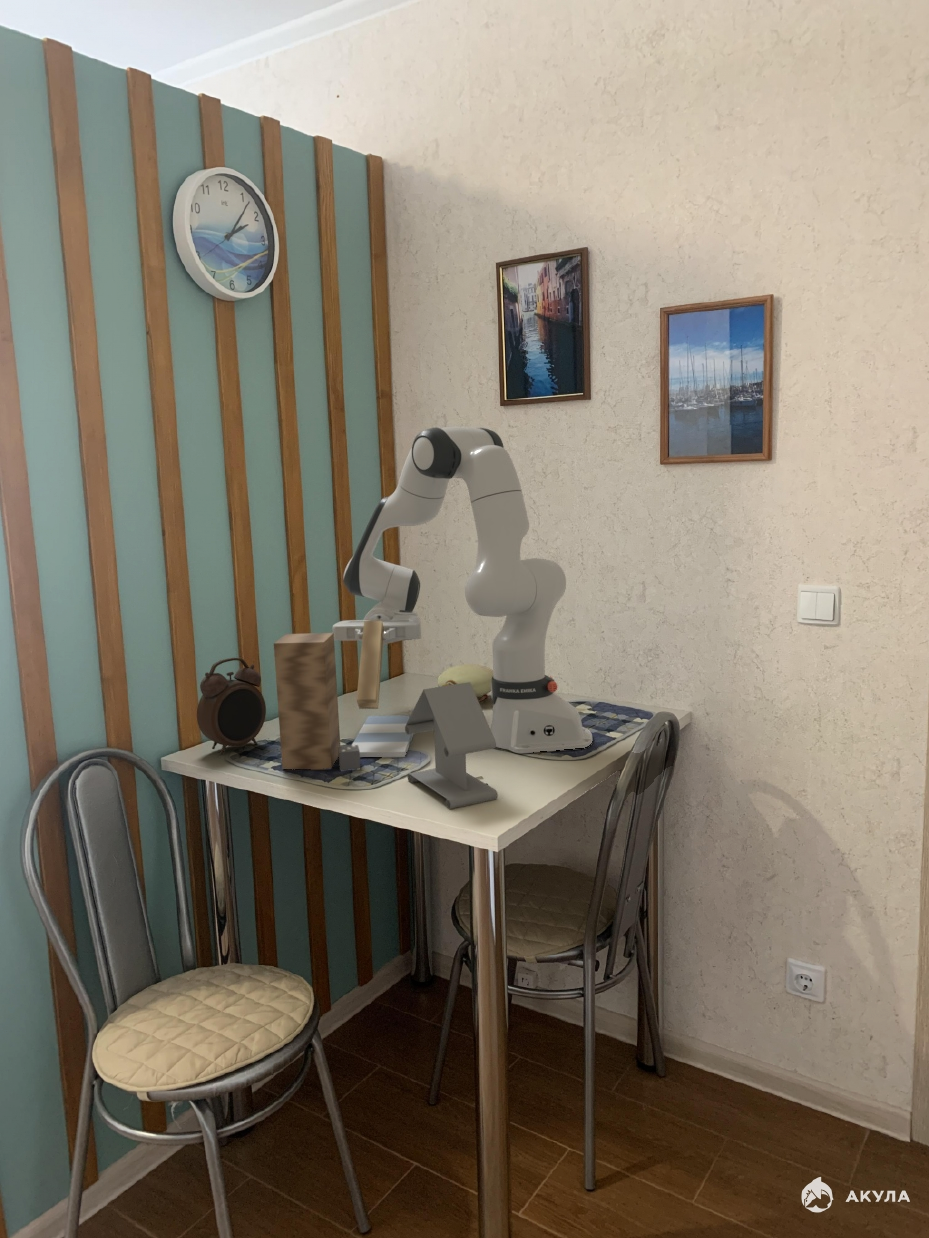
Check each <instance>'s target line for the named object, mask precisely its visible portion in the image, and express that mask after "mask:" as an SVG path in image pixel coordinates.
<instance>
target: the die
mask: <svg viewBox="0 0 929 1238" xmlns="http://www.w3.org/2000/svg"><path fill="white" fill-rule="evenodd" d="M338 753H339V758H338V766H340V767H339V771H340V770H348V769H357V768H360V769H361V758H360V751H359V747H358V745H353V746H351V745H344V746H342V745H341V746H340V747H338Z"/></svg>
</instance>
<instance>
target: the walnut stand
mask: <svg viewBox="0 0 929 1238" xmlns="http://www.w3.org/2000/svg"><path fill="white" fill-rule="evenodd" d="M273 651H274V667H275V668H274V669H275V681H276V696H277V710H278V723H279V724H278V725H279V726H278V727H279V740H280V753H281V767H282V770H283V769H292V770H291V771H293V769H294V770H295V769H311V770H327V769H326V768H332V766H333V764H334V763H335V761H336V760H337V761H338V759H339V758H338V757H339V753H338V747H341V733H340V732H341V731H340V717H339V701H338V685H337V684H338V683H337V667H336V666H337V664H336V651H335V640H334V633H332V632H323V633H322V632H315V633H312V632H311V633H285V634H284V635H282V636H281V637H280V638H279V639H277V640H276V641H274V643H273ZM337 758H338V759H337ZM337 761H336V762H337ZM335 764H336V763H335ZM335 764H334V765H335ZM333 767H334V766H333ZM323 768H324V769H323ZM332 769H333V768H332Z"/></svg>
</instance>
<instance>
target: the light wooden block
mask: <svg viewBox="0 0 929 1238" xmlns="http://www.w3.org/2000/svg"><path fill="white" fill-rule="evenodd" d="M382 631H384V627H383V623H382V621H364V628H363V638H362V640H361V647H360V648H361V650H360V660H359V661H360V662H359V671H358V682H357V692H356V703H357V705H358V709H359V710H372V709H373V710H374V709H375V710H377V709H379V703H380V702H379V700H380V688H381V676H382V666H383V665H382V663H383V652H384V645H383V642H384V640H382Z"/></svg>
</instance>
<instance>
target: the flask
mask: <svg viewBox="0 0 929 1238" xmlns="http://www.w3.org/2000/svg"><path fill="white" fill-rule="evenodd" d="M492 677H493V668H490V667H487V666H485V665H479V664H476V663H462V664H459V665H455V666H451V667H449V668H447V669H446V670H445V671H443V672H442V673H441V674H440V675H439V676H438V679H437V687H442V686H448V685H454V684H461V683H467V682H470V683H471V685H472V688H473V690H474V692H475V695H476V697H477V699H478V697H481V696H482V697H481V698H479V699H478V702H479V703H480V702H482V701H484V700H486V699H485V698H487V699H488V698H489V695H488V694H489V693H491V681H492Z"/></svg>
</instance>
